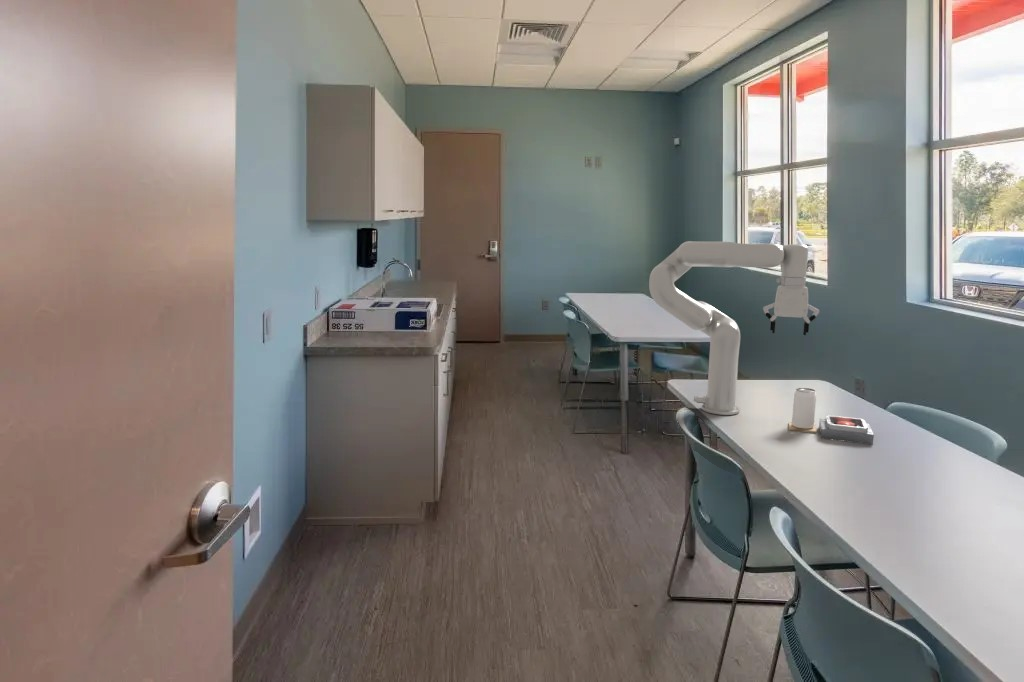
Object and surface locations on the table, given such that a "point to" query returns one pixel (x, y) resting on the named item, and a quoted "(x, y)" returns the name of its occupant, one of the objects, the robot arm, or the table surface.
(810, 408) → the can
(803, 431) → the coaster
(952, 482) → the table surface
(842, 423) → the button
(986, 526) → the table surface
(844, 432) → the white shallow box
